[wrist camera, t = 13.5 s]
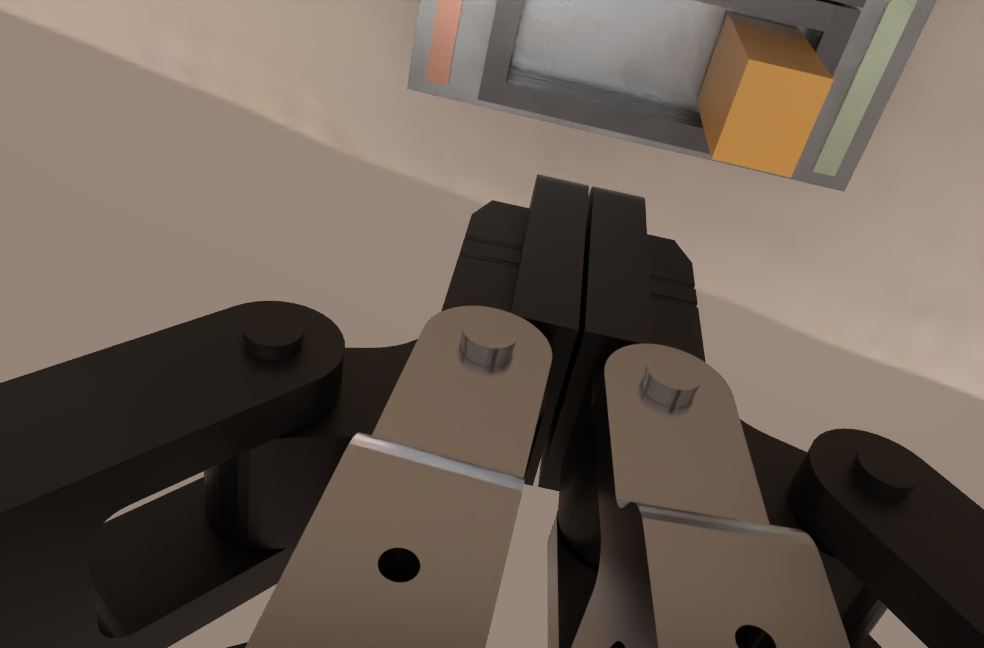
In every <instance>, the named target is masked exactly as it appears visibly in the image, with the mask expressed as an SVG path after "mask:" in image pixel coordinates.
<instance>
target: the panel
mask: <svg viewBox="0 0 984 648" xmlns="http://www.w3.org/2000/svg"><path fill="white" fill-rule="evenodd" d="M935 2H936V0H420V5H419V11H418V18H417V25H416V32H415V39H414V46H413V52H412V59H411V66H410V73H409V80H408V87H407V89H410V90H415V91H419V92H423V93H427V94H432V95H436V96H440V97H444V98H449V99H453V100H457V101H461V102H466V103H470V104H474V105H478V106H483V107H487V108H491V109H495V110H500V111H504V112H508V113H512V114H517V115H521V116H525V117H529V118H534V119H538V120H542V121H547V122H551V123H555V124H559V125H564V126H568V127H572V128H576V129H581V130H585V131H589V132H593V133H598V134H602V135H606V136H610V137H615V138H619V139H623V140H627V141H632V142H636V143H640V144H644V145H649V146H653V147H657V148H661V149H666V150H670V151H674V152H678V153H683V154H687V155H691V156H695V157H700V158H704V159H708V160H712V161H717V160H713V159H711V155H710V151H709V147H708V143H707V139H706V136H705V132H704V128H703V124H702V120H701V116H700V112H699V108H698V104H697V98H698V96H699V93H700V90H701V87H702V84H703V81H704V78H705V75H706V73H707V70H708V67H709V64H710V61H711V58H712V55H713V53H714V50H715V47H716V44H717V41H718V38H719V35H720V33H721V30H722V27H723V24H724V21H725V18H726V15H727V13H728V12H729V13H733V14H737V15H741V16H745V17H750V18H754V19H758V20H762V21H766V22H770V23H775V24H779V25H783V26H787V27H791V28H796V29H800V30H801V32H802V33H803V35H804V36H805V38H806V39H807V41H808V42H809V44H810V45H811V46H812V48H813V49H814V51H815V52H816V54H817V55H818V57H819V58H820V60H821V61H822V62H823V64H824V65H825V67H826V68H827V70H828V71H829V73H830V74H831V76H832V77H833V79H834V81H833V83H832V85H831V87H830V90H829V92H828V94H827V96H826V99H825V101H824V103H823V106H822V108H821V110H820V112H819V115H818V117H817V119H816V122H815V124H814V126H813V128H812V131H811V133H810V135H809V138H808V140H807V142H806V144H805V147H804V149H803V151H802V153H801V156H800V158H799V160H798V163H797V165H796V167H795V169H794V172H793V174H792V176H791V178H790V177H785V176H781V175H777V174H773V173H768V172H764V171H760V170H756V169H751V168H747V167H743V166H739V165H734V164H730V163H726V162H722V161H717V162H721V163H725V164H729V165H734V166H738V167H742V168H746V169H751V170H755V171H759V172H763V173H768V174H772V175H776V176H780V177H785V178H789V179H793V180H797V181H802V182H806V183H810V184H814V185H819V186H823V187H827V188H831V189H836V190H840V191H845V189H846V187H847V185H848V183H849V180H850V178H851V176H852V174H853V172H854V170H855V168H856V166H857V164H858V162H859V160H860V158H861V156H862V154H863V151H864V149H865V147H866V145H867V143H868V141H869V139H870V137H871V135H872V133H873V131H874V129H875V127H876V125H877V122H878V120H879V118H880V116H881V114H882V112H883V110H884V108H885V106H886V104H887V102H888V100H889V98H890V96H891V94H892V91H893V89H894V87H895V85H896V83H897V81H898V79H899V77H900V75H901V73H902V71H903V69H904V67H905V65H906V62H907V60H908V58H909V56H910V54H911V52H912V50H913V48H914V46H915V44H916V42H917V40H918V38H919V36H920V33H921V31H922V29H923V27H924V25H925V23H926V21H927V19H928V17H929V15H930V13H931V11H932V9H933V7H934V5H935Z"/></svg>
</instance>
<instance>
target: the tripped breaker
mask: <svg viewBox="0 0 984 648" xmlns="http://www.w3.org/2000/svg"><path fill="white" fill-rule="evenodd" d="M833 81H834V79H833V77H832V76H831V74H830V73H829V71H828V70H827V68H826V67H825V65H824V64H823V62H822V61H821V60H820V58H819V57H818V55H817V54H816V52H815V51H814V49H813V48H812V46H811V45H810V44H809V42H808V41H807V39H806V38H805V36H804V35H803V33H802V32H801V30H800V29H796V28H791V27H787V26H783V25H779V24H775V23H770V22H766V21H762V20H758V19H754V18H750V17H745V16H741V15H737V14H733V13H729V12H728V13H727V15H726V18H725V21H724V24H723V27H722V30H721V33H720V35H719V38H718V41H717V44H716V47H715V50H714V53H713V55H712V58H711V61H710V64H709V67H708V70H707V73H706V75H705V78H704V81H703V84H702V87H701V90H700V93H699V96H698V98H697V104H698V108H699V112H700V116H701V120H702V124H703V128H704V132H705V136H706V139H707V143H708V147H709V151H710V155H711V159H713V160H717V161H722V162H726V163H730V164H734V165H739V166H743V167H747V168H751V169H756V170H760V171H764V172H768V173H773V174H777V175H781V176H785V177H790V178H791V176H792V174H793V172H794V169H795V167H796V165H797V163H798V160H799V158H800V156H801V153H802V151H803V149H804V147H805V144H806V142H807V140H808V138H809V135H810V133H811V131H812V128H813V126H814V124H815V122H816V119H817V117H818V115H819V112H820V110H821V108H822V106H823V103H824V101H825V99H826V96H827V94H828V92H829V90H830V87H831V85H832V83H833Z"/></svg>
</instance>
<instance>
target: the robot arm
mask: <svg viewBox="0 0 984 648" xmlns="http://www.w3.org/2000/svg"><path fill="white" fill-rule="evenodd" d="M588 191H589V186H588V185H583V184H579V183H574V182H570V181H565V180H561V179H556V178H552V177H547V176H543V175H538V174H537V178H536V182H535V186H534V190H533V194H532V199H531V203H530V207H529V208H525V207H520V206H516V205H511V204H507V203H502V202H498V201H493V200H492V201H491V202H489V203H488V204H486V205H485V206H483V207H482V208H481V209H479V210H478V211H476V212H475V213H473V214H472V216H471V219H470V222H469V226H468V229H467V232H466V235H465V239H464V241H463V244H462V248H461V251H460V255H459V257H458V260H457V263H456V267H455V270H454V273H453V276H452V279H451V283H450V286H449V289H448V292H447V295H446V299H445V302H444V305H443V308H442V311H441V312H439V313H438V314H436V315H434V316H433V317H432V318H431V319H430V320H429V321H428V322H427V323H426V324H425V326H424V328H423V330H422V332H421V334H420V336H419V338H418V339H416V340H414V341H411V342H409V343H406V344H401V345H397V346H391V347H382V348H345V341H344V338H343V335H342V333H341V331H340V330H339V328H338V326H336V325H335V323H334V322H333V321H332V320H330V319H329V318H328V317H326V316H325V315H323V314H321V313H320V312H318V311H315V310H313V309H311V308H308V307H306V306H302V305H298V304H294V303H289V302H282V301H257V302H250V303H245V304H241V305H237V306H234V307H231V308H228V309H225V310H222V311H218V312H215V313H213V314H209V315H206V316H203V317H200V318H197V319H194V320H191V321H188V322H185V323H182V324H179V325H176V326H173V327H170V328H167V329H164V330H161V331H158V332H155V333H151V334H148V335H145V336H142V337H140V338H136V339H133V340H130V341H127V342H124V343H121V344H118V345H115V346H112V347H109V348H106V349H103V350H100V351H97V352H94V353H91V354H88V355H84V356H81V357H79V358H75V359H72V360H70V361H66V362H63V363H60V364H57V365H54V366H51V367H48V368H45V369H42V370H39V371H36V372H33V373H30V374H27V375H24V376H21V377H18V378H14V379H11V380H8V381H5V382H2V383H0V648H167V647H169V646H171V645H173V644H174V643H176V642H178V641H179V640H181V639H183V638H185V637H186V636H188V635H190V634H191V633H193V632H195V631H196V630H198V629H200V628H202V627H203V626H205V625H207V624H209V623H210V622H212V621H214V620H215V619H217V618H219V617H220V616H222V615H224V614H226V613H227V612H229V611H231V610H232V609H234V608H236V607H238V606H239V605H241V604H243V603H244V602H246V601H248V600H249V599H251V598H253V597H255V596H256V595H258V594H260V593H261V592H263V591H265V590H267V589H269V588H270V587H272V586H273V585H275V584H277V583H278V584H277V586H276V588H275V590H274V592H273V594H272V596H271V598H270V600H269V601H268V603H267V606H266V608H265V609H264V611H263V613H262V616H261V617H260V619H259V621H258V623H257V625H256V627H255V629H254V631H253V633H252V635H251V637H250V639H249V641H248V642H247V643H243V644H240V645H235V646H231V647H227V648H485V647H486V643H487V638H488V634H489V630H490V626H491V621H492V617H493V613H494V609H495V605H496V600H497V596H498V592H499V588H500V584H501V580H502V575H503V571H504V567H505V563H506V559H507V554H508V550H509V546H510V542H511V538H512V533H513V529H514V525H515V520H516V516H517V512H518V508H519V504H520V500H521V496H522V491H523V487H524V484H527V485H532V486H533V483H534V479H535V476H536V473H537V469H538V466H539V462H540V459H541V466H540V476H539V484H538V487H542V488H546V489H551V490H556V491H560V493H559V505H558V511H557V514H556V517H555V520H554V523H553V526H552V529H551V533H550V536H549V539H548V546H547V555H548V556H547V557H548V558H547V559H548V561H547V564H548V565H547V566H548V569H547V570H548V571H547V572H548V648H881V646H879V644H878V643H877V642H876V641H875V640H874V639H873V638H872V637H871V636H870V635H869V633H870V632H871V630H872V629H873V628H874V626H875V625H876V623H877V622H878V621H879V619H880V618H881V617H882V615H883V614H884V612H885V611H886V610H887V608H888V609H889V610H890V611H891V612H892V613H893V614H894V615H895V616H896V617H898V619H900V620H901V622H903V623H904V624H905V625H906V626H907V627H908V628H909V629H910V630H911V631H912V632H913V633H914V634H915V635H916V636H917V637H918V638H919V639H920V640H921V641H922V642H923V643H924V644H925V645H926V646H927V647H928V648H984V509H982V508H981V507H980V506H979V505H977V504H976V503H975V502H974V501H972V500H971V499H970V498H969V497H968V496H966V495H965V494H964V493H963V492H961V491H960V490H959V489H958V488H957V487H955V486H954V485H952V484H951V483H950V482H949V481H948V480H947V479H945V478H944V477H943V476H942V475H940V474H939V473H938V472H937V471H936V470H934V469H933V468H932V467H930V465H928V464H927V463H925V461H923V460H922V459H921V458H919V457H918V456H917V455H915V454H914V453H913V452H911V451H909V450H908V449H906V448H905V447H903V446H901V445H899V444H897V443H895V442H893V441H891V440H889V439H887V438H884V437H882V436H879V435H877V434H873V433H870V432H866V431H861V430H855V429H834V430H831V431H826V432H824V433H822V434H820V435H819V436H818V437H817V438H816V439H815V440H814V441H813V443H812V445H811V447H810V449H809V450H808V452H805V451H803V450H801V449H798V448H796V447H794V446H792V445H789V444H787V443H785V442H783V441H780V440H778V439H776V438H774V437H771V436H769V435H767V434H765V433H763V432H761V431H758V430H757V429H755V428H753V427H752V426H750V425H748V424H747V423H745V422H744V421H742V420H741V419H740V418H739V414H738V411H737V407H736V404H735V400H734V396H733V394H732V391H731V389H730V387H729V386H728V384H727V383H726V381H725V380H724V379H723V377H722V376H721V375H720V374H719V373H718V372H717V371H716V370H714V369H713V368H712V367H711V366H710V365H708V364H706V363H705V355H704V348H703V341H702V334H701V326H700V319H699V312H698V308H697V307H696V306H697V297H696V289H694V286H695V282H694V275H693V267H692V262H691V261H690V260H689V259H688V257H687V256H686V255H685V253H684V252H683V251H682V250H681V248H680V247H679V246H678V244H677V243H676V242H675V241H674V240H671V239H666V238H661V237H657V236H652V235H648V234H647V227H646V208H645V198H643V197H638V196H634V195H629V194H625V193H620V192H616V191H611V190H607V189H602V188H598V187H592V188H591V191H590V193H589V196H588ZM541 456H542V457H541ZM203 471H204V477H203V478H200V479H198V480H196V481H194V482H192V483H190V484H188V485H185V486H183V487H181V488H179V489H177V490H174V491H172V492H170V493H168V494H166V495H164V496H161V497H159V498H157V499H155V500H153V501H151V502H148V503H146V504H144V505H142V506H140V507H137V508H135V509H133V510H131V511H129V512H127V513H124V514H123V515H120V516H118V517H116V518H114V519H112V520H109V521H107V522H105V521H106V520H107V519H108V518H109V517H111V516H112V515H113V514H114V513H116V512H117V511H119V510H121V509H123V508H124V507H126V506H128V505H130V504H133V503H135V502H137V501H139V500H141V499H143V498H146V497H148V496H150V495H152V494H154V493H157V492H159V491H161V490H163V489H165V488H167V487H170V486H172V485H174V484H177V483H179V482H181V481H183V480H185V479H187V478H189V477H192V476H194V475H196V474H198V473H201V472H203ZM104 522H105V523H104Z"/></svg>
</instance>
